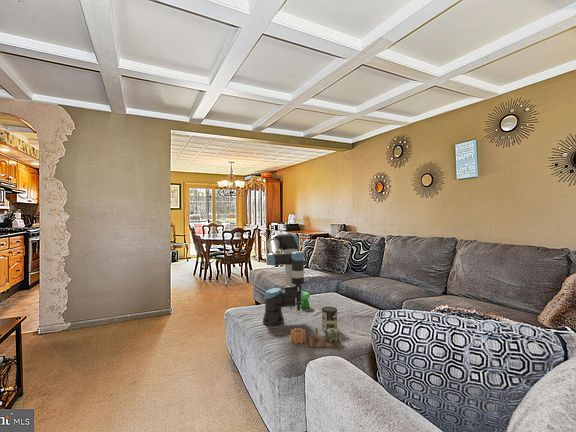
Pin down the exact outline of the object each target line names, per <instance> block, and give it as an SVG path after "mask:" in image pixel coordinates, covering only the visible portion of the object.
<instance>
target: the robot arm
mask: <svg viewBox="0 0 576 432" xmlns="http://www.w3.org/2000/svg"><path fill="white" fill-rule="evenodd" d="M266 248H267V250H268V253H266V263H267V266H284V272H285V275H284V276H285V285H284V287H283V290H282V288H280V287H275V288H274V287H273V288H269V289H267V290H266V291H265V292H264V299H265V300H264V303H265V304H264V308H265V309H264V310H265V311H264V314H263V317H262V323H263V325H266V326H271V327H272V326H274V327H276V326H280V325H283V324H285V323H284V322H285V317H284V315H283V312H282V311H283V310H282V308H289V307H291V308H295V313H296V315H295V316H299V317H300V316H302V311H301V310H302V307H301V303H302V292H303V290H302V285H304V284H305V276H304V275H305V256H304V255H305V253H304V252H303V251H301V250H299V249H300V239H299V236H298V235H297V234H296V233H277V234H274V235H271V236H270V237H269V238H268V239H267V241H266ZM281 250H282V251H281Z"/></svg>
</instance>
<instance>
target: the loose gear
mask: <svg viewBox="0 0 576 432" xmlns="http://www.w3.org/2000/svg"><path fill="white" fill-rule="evenodd" d="M306 334H307V332H306V328H304V329H302V327H300V328H296V327H294V329H290V343H294V344H296V345H297V344H301V345H302V344H303V342H304V343H305V342H307V337H306V336H307V335H306Z"/></svg>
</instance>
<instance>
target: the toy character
mask: <svg viewBox="0 0 576 432" xmlns="http://www.w3.org/2000/svg"><path fill="white" fill-rule="evenodd" d="M310 298H311V294H310V293H309V292H308V291H305V290H302V303H301V308H306V309H307V308H309V307H310V302H309V299H310ZM288 308H289V309H291V308H292V307H288Z"/></svg>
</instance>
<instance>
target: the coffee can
mask: <svg viewBox="0 0 576 432" xmlns="http://www.w3.org/2000/svg"><path fill="white" fill-rule="evenodd" d="M328 328H335V329H338V308H336V306H335V307H334V306H323V307H321V331H322V332H323V333H325V329H328Z"/></svg>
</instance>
